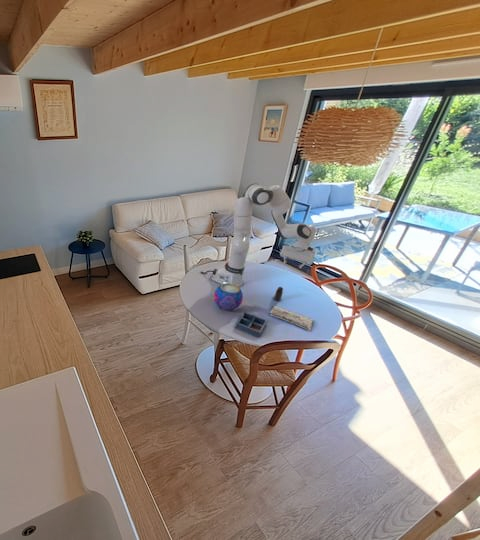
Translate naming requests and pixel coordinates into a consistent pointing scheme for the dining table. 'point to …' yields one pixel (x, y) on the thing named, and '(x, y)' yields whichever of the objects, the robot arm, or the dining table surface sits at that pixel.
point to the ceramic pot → (228, 296)
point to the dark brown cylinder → (278, 294)
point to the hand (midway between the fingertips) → (292, 265)
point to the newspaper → (292, 317)
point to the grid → (251, 324)
